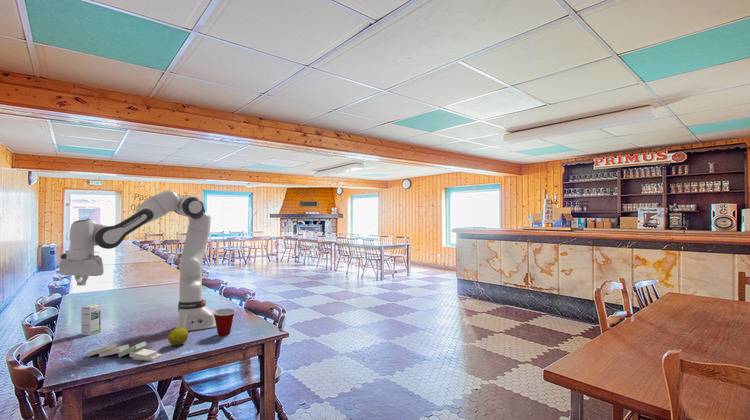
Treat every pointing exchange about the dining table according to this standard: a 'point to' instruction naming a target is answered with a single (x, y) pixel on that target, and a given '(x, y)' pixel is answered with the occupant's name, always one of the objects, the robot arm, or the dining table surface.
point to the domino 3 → (132, 349)
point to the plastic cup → (224, 320)
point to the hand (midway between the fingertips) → (81, 285)
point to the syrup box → (91, 319)
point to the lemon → (178, 336)
